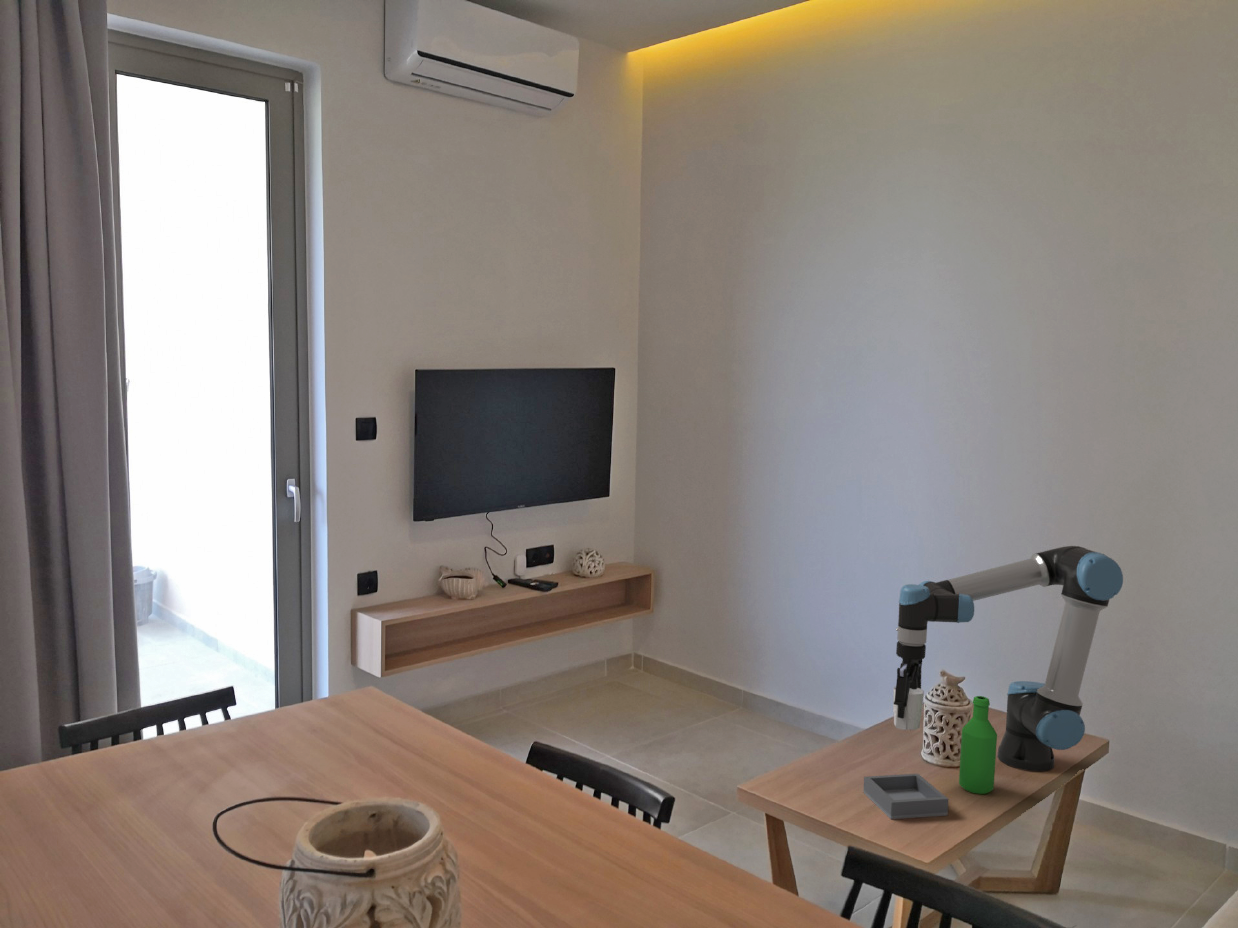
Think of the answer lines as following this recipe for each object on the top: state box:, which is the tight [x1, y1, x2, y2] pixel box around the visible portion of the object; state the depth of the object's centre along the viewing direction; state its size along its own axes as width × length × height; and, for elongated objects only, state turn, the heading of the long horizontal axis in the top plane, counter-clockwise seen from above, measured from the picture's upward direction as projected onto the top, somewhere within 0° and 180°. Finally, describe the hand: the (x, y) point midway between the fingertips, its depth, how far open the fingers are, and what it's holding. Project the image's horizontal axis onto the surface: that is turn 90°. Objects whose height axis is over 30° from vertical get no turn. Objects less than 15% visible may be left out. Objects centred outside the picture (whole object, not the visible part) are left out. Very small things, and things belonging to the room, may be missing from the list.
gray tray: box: [863, 773, 950, 820], centre depth 243 cm, size 15×15×4 cm
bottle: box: [958, 695, 998, 795], centre depth 253 cm, size 9×9×25 cm
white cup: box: [892, 685, 925, 731], centre depth 257 cm, size 8×8×10 cm
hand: (906, 724), depth 257 cm, fingers closed on white cup, 7 cm apart
